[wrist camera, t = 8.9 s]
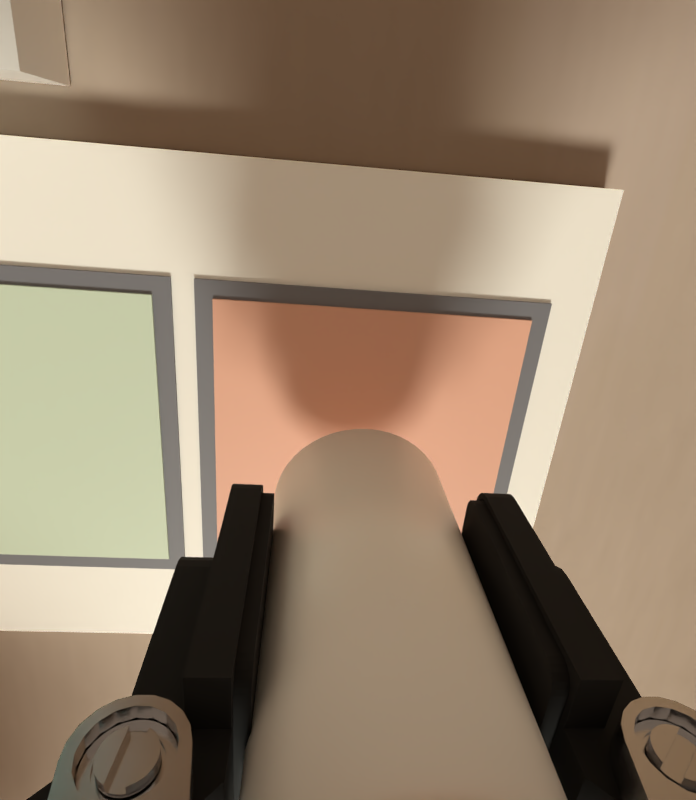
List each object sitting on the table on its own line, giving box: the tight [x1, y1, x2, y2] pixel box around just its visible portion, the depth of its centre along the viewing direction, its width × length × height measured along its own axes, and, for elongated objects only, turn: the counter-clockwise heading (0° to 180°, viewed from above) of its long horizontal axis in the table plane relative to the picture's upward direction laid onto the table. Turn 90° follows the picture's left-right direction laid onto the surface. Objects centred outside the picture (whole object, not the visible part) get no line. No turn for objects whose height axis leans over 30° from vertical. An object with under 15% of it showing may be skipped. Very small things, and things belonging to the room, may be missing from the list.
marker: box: [239, 429, 567, 800], centre depth 7 cm, size 4×4×9 cm
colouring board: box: [0, 135, 624, 634], centre depth 14 cm, size 18×13×1 cm
